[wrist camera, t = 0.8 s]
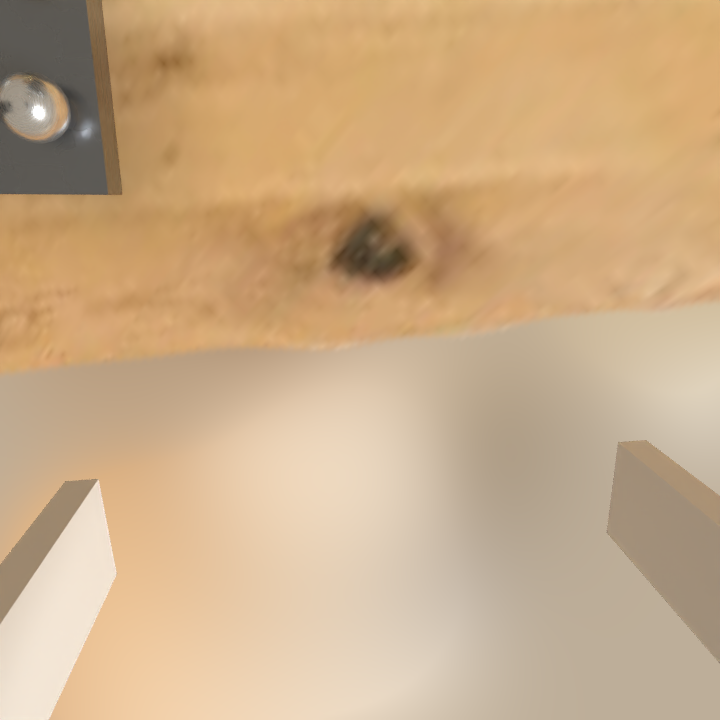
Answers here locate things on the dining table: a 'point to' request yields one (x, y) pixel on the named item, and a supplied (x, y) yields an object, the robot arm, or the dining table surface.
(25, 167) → the plate
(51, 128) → the steel ball
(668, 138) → the dining table surface
